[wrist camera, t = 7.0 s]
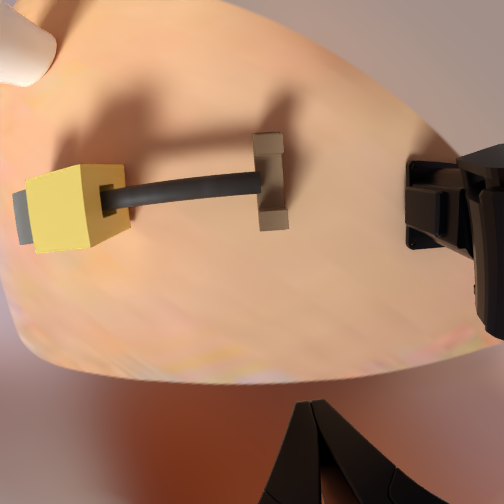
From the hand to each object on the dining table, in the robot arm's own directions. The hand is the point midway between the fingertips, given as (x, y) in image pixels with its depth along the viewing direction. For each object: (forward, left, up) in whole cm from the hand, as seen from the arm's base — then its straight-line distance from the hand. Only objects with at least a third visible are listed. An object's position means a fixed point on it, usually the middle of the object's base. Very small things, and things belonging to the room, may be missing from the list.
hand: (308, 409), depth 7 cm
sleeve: (+12, -6, -13) cm, 18 cm away
